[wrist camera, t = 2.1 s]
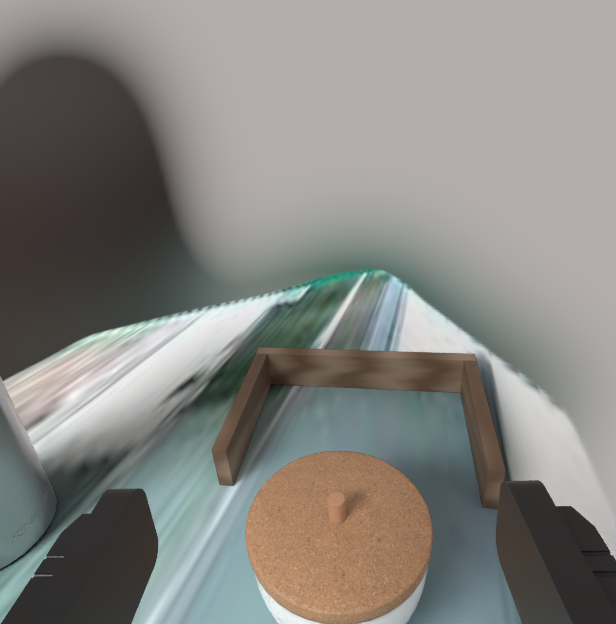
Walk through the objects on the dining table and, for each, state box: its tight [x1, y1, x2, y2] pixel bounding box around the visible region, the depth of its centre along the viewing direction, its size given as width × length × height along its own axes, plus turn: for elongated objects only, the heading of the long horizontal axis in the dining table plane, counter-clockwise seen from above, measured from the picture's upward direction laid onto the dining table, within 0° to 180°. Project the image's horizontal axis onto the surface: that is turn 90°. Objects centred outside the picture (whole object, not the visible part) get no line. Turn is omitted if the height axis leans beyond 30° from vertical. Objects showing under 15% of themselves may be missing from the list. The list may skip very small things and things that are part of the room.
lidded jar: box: [245, 451, 433, 624], centre depth 28 cm, size 11×11×9 cm
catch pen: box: [212, 347, 506, 509], centre depth 43 cm, size 22×15×4 cm
